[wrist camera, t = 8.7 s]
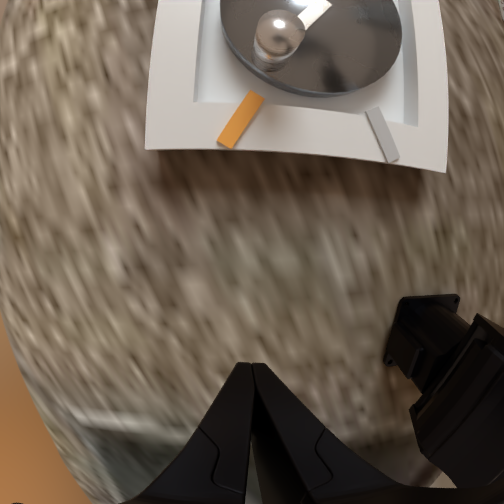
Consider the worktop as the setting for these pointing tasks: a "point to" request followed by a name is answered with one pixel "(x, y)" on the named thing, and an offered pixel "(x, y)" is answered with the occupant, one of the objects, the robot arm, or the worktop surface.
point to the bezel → (295, 96)
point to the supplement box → (501, 7)
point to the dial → (314, 42)
